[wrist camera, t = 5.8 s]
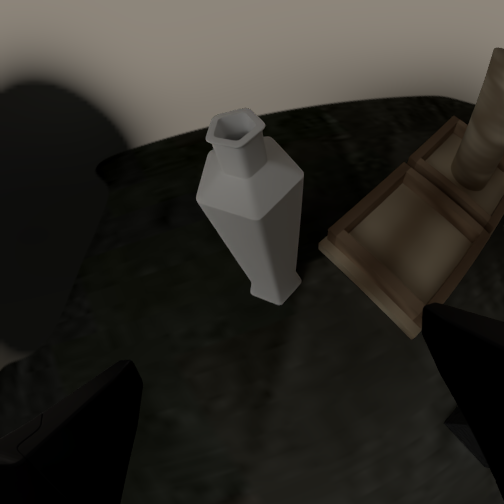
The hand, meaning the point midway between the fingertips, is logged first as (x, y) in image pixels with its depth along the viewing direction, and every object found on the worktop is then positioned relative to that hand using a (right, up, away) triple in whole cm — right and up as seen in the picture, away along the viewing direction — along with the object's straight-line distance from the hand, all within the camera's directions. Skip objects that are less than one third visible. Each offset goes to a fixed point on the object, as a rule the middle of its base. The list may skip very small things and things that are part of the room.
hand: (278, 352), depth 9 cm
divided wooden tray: (+16, +6, +16) cm, 23 cm away
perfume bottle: (+1, +1, +16) cm, 16 cm away
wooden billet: (+20, +10, +16) cm, 27 cm away
